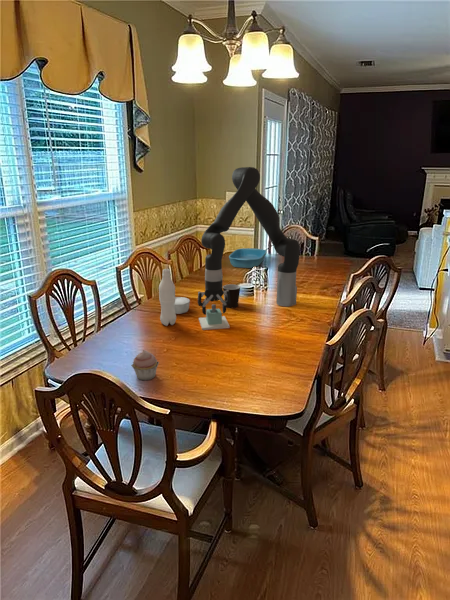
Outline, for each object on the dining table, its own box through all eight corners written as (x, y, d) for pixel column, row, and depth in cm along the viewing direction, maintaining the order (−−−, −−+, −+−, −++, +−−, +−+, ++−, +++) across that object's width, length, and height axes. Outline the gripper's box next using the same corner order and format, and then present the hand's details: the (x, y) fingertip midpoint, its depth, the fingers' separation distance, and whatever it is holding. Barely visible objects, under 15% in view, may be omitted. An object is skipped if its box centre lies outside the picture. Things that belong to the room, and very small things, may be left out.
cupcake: (139, 368, 160) (138, 342, 157) (163, 371, 158) (162, 346, 154) (127, 380, 152) (125, 354, 148) (152, 384, 149) (150, 357, 146)
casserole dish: (238, 256, 323) (238, 246, 321) (268, 258, 318) (268, 248, 316) (225, 269, 290) (225, 258, 287) (259, 271, 284) (259, 260, 282)
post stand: (224, 318, 207) (224, 299, 204) (229, 327, 196) (229, 308, 193) (198, 319, 205) (198, 301, 202) (202, 329, 193) (202, 310, 190)
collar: (219, 318, 203) (219, 308, 201) (221, 323, 197) (221, 313, 196) (206, 319, 202) (206, 309, 200) (208, 324, 196) (208, 314, 195)
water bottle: (179, 321, 202) (177, 268, 194) (172, 327, 196) (170, 272, 188) (164, 319, 205) (162, 267, 196) (157, 325, 198) (154, 271, 190)
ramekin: (177, 305, 224) (177, 295, 222) (194, 309, 217) (194, 299, 216) (162, 311, 215) (161, 301, 213) (179, 316, 209) (179, 306, 207)
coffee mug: (238, 309, 217) (238, 290, 214) (221, 308, 219) (221, 288, 216) (242, 301, 228) (242, 283, 225) (225, 300, 230) (225, 282, 227)
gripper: (228, 275, 198) (228, 309, 203) (196, 277, 195) (197, 311, 201) (231, 279, 191) (231, 315, 196) (198, 282, 188) (199, 317, 194)
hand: (214, 313), depth 198 cm, fingers open, 8 cm apart
